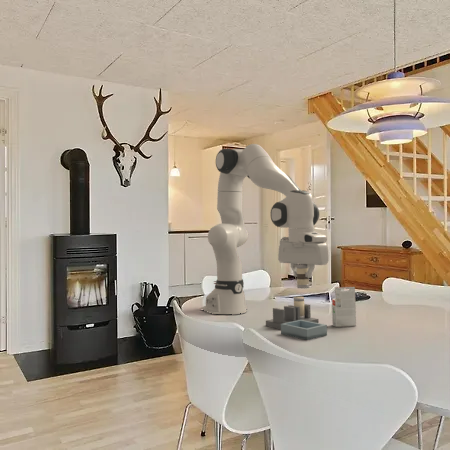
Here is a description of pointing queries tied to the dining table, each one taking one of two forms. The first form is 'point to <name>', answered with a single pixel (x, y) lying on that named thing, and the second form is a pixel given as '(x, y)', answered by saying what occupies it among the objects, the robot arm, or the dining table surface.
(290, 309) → the fuse holder
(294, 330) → the parts tray
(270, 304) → the dining table surface
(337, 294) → the ink box
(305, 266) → the cylinder
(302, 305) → the cylinder
